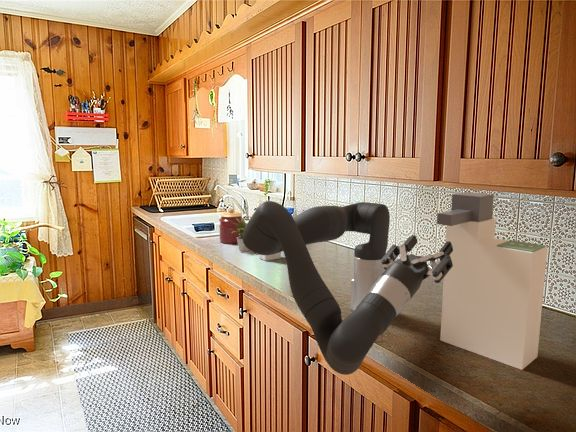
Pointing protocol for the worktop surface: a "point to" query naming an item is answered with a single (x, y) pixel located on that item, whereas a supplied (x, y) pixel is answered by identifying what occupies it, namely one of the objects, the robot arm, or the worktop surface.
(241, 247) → the house plant
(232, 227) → the canister
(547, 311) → the worktop surface
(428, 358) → the worktop surface
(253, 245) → the robot arm
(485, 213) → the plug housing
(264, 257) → the skincare box
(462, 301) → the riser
